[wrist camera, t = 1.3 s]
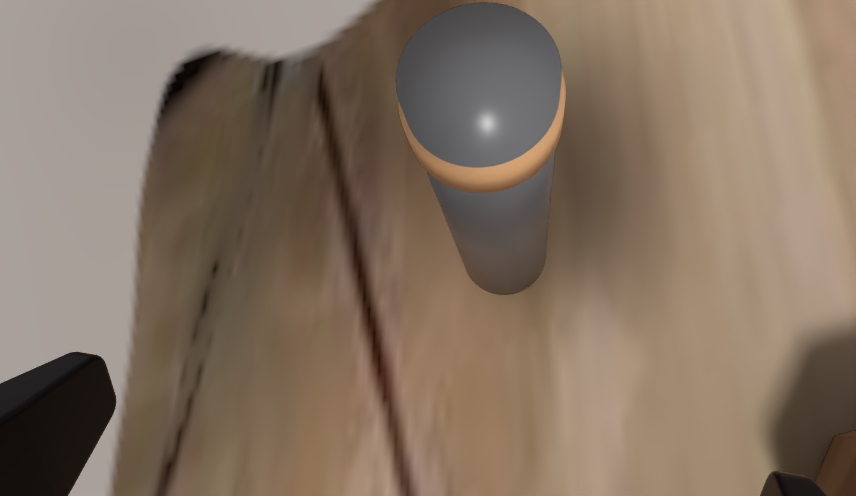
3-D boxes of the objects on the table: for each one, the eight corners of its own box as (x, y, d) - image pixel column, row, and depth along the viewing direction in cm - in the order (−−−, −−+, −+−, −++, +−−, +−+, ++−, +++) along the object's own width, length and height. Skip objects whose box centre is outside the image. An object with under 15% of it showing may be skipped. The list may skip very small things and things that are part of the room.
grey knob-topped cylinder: (522, 313, 22) (515, 186, 10) (445, 272, 23) (358, 113, 11) (563, 236, 22) (599, 35, 11) (486, 199, 23) (443, -26, 12)
